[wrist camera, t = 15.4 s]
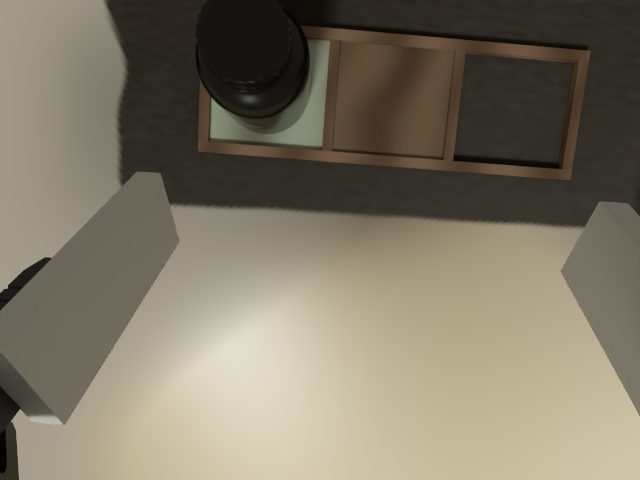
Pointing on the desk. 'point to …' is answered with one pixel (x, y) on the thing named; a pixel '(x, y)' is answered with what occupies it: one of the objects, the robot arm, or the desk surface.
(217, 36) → the supplement bottle
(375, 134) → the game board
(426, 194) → the desk surface
